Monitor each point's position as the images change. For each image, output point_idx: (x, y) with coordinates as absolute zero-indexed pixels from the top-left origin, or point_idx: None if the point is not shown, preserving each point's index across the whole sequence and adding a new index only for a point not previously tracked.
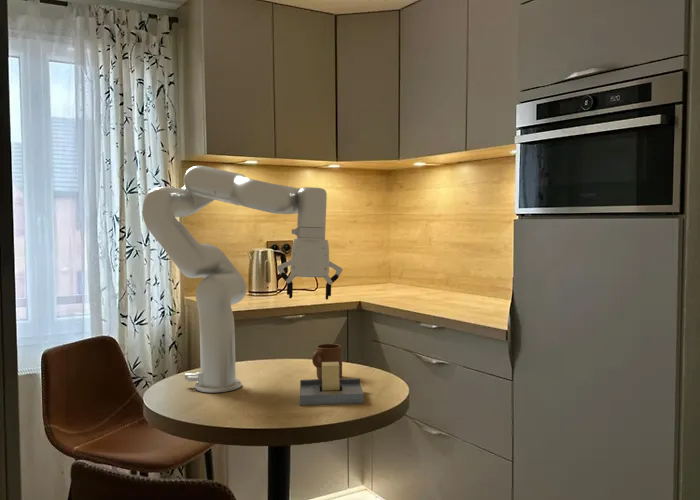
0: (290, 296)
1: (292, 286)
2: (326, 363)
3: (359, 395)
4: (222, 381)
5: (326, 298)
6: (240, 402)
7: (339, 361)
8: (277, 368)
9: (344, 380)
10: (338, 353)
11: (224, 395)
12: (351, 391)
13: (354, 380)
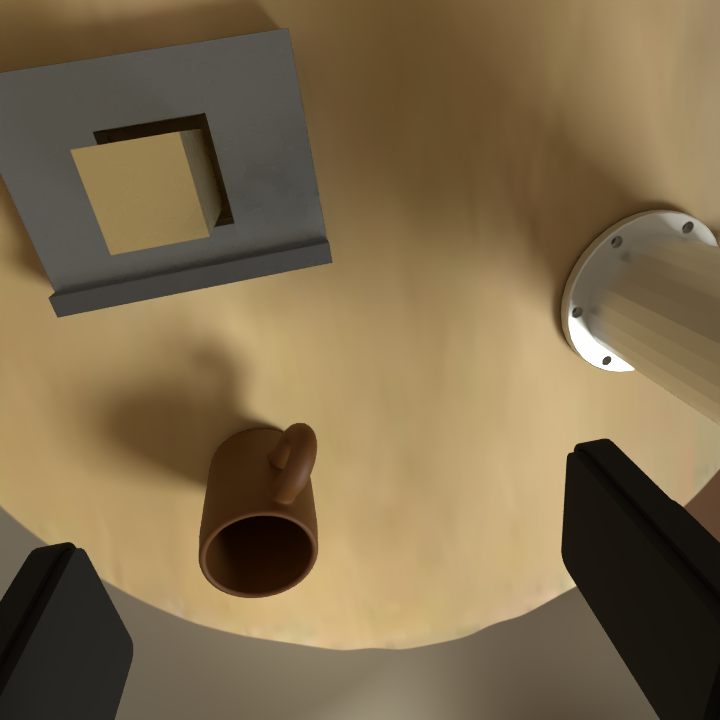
0: (600, 449)
1: (666, 636)
2: (170, 202)
3: None
4: (643, 249)
5: (58, 547)
6: (543, 80)
7: (208, 495)
8: (462, 540)
9: (126, 282)
10: (207, 516)
11: (609, 185)
12: (42, 124)
13: (77, 290)
